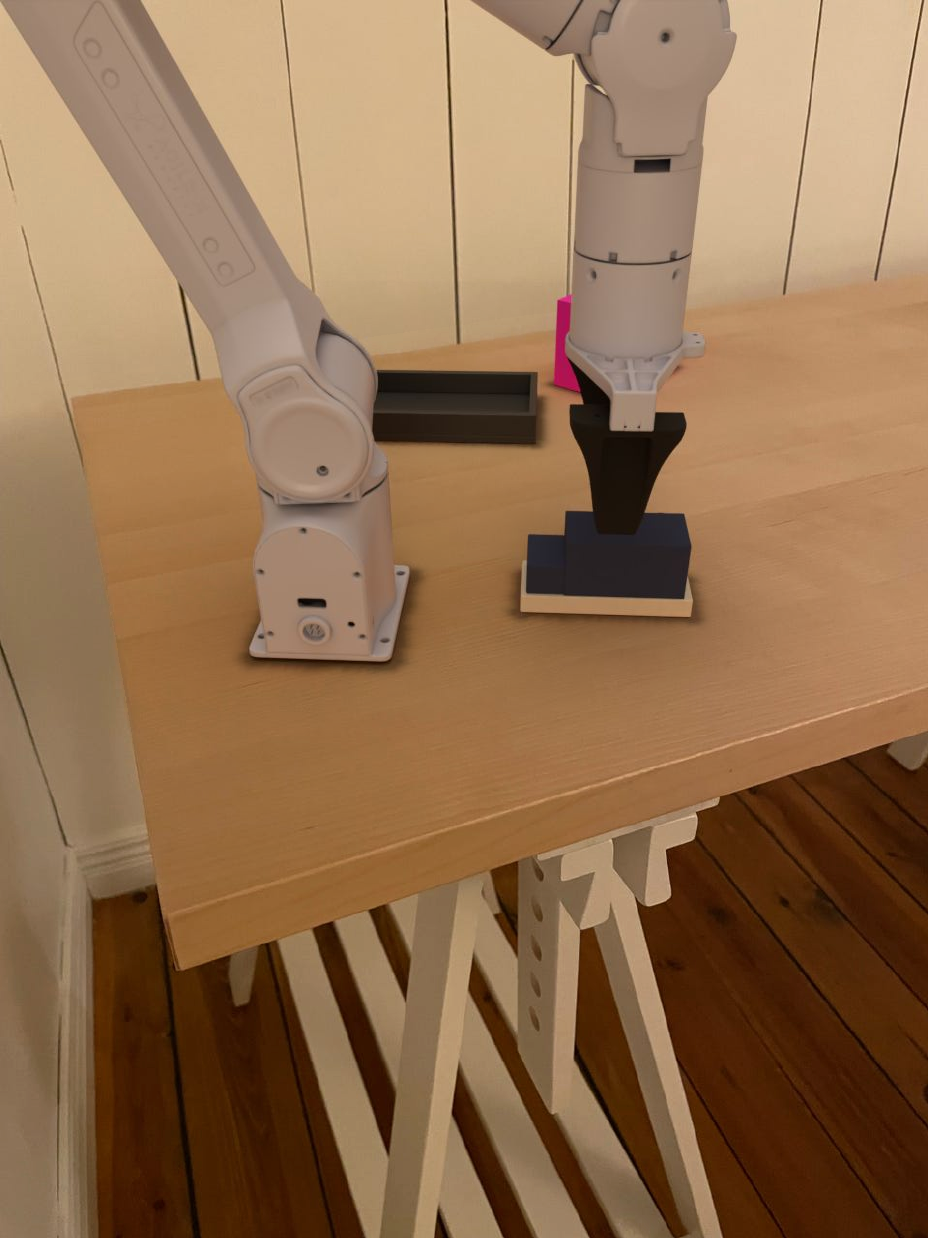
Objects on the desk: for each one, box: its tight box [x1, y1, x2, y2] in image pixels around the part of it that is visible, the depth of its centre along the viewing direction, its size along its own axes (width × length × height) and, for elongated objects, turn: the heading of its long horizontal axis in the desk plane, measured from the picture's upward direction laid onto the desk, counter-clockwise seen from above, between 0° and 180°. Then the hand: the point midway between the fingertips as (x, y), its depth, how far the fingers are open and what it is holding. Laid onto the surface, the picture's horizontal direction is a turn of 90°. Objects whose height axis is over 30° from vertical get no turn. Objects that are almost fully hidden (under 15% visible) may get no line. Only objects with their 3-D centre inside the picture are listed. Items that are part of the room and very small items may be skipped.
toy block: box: [553, 293, 581, 393], centre depth 88 cm, size 15×6×8 cm, turn 140°
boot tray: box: [372, 369, 539, 445], centre depth 80 cm, size 9×15×2 cm, turn 86°
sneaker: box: [519, 510, 694, 618], centre depth 58 cm, size 10×4×5 cm, turn 86°
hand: (612, 497), depth 55 cm, fingers open, 7 cm apart
